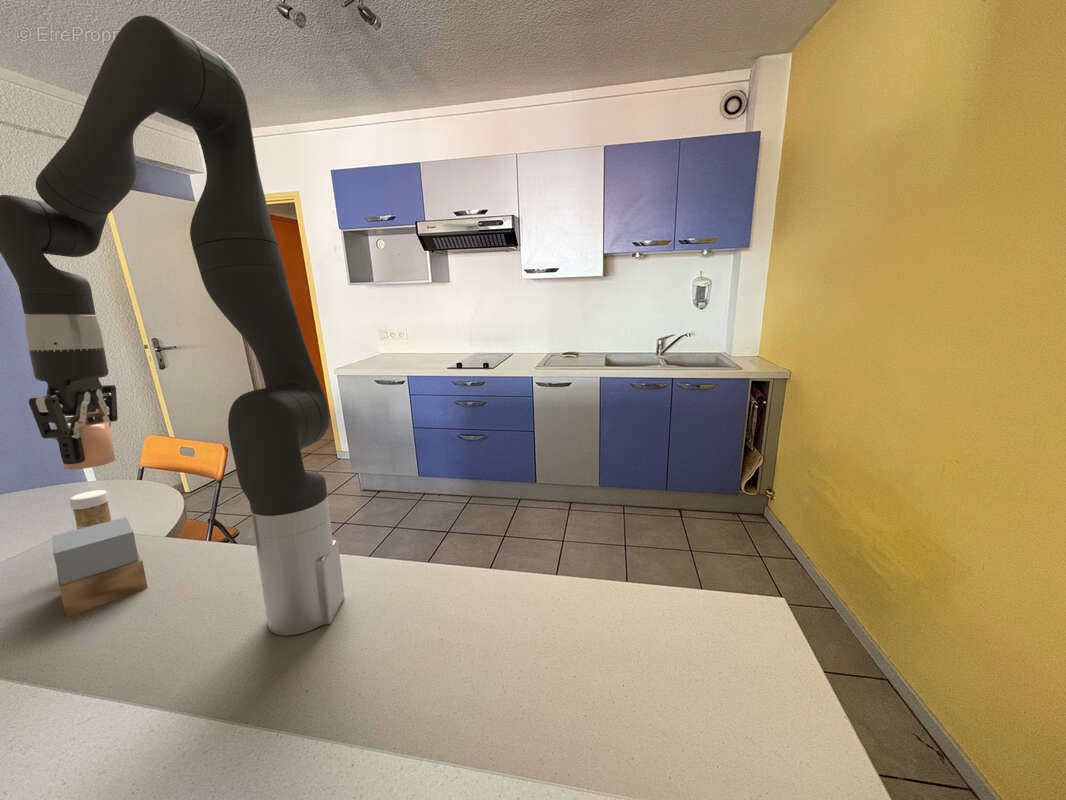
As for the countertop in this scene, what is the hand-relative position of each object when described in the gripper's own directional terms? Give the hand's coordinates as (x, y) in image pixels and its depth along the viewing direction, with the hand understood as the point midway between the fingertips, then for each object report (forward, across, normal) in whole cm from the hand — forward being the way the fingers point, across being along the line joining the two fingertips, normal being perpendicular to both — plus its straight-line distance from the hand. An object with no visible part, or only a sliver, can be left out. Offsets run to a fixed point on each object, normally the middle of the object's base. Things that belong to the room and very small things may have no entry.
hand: (89, 456), depth 65 cm
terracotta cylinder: (+1, 0, 0) cm, 1 cm away
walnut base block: (+22, 0, +1) cm, 22 cm away
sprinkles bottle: (+23, +10, +7) cm, 25 cm away
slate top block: (+17, 0, +1) cm, 18 cm away
